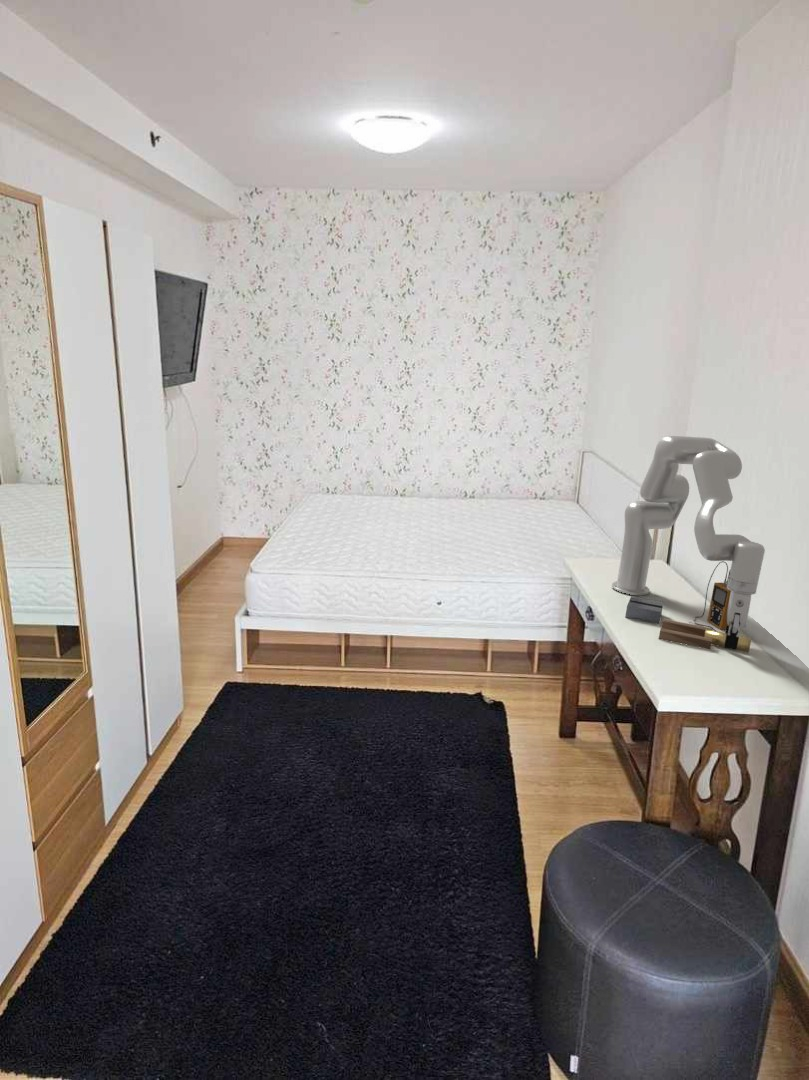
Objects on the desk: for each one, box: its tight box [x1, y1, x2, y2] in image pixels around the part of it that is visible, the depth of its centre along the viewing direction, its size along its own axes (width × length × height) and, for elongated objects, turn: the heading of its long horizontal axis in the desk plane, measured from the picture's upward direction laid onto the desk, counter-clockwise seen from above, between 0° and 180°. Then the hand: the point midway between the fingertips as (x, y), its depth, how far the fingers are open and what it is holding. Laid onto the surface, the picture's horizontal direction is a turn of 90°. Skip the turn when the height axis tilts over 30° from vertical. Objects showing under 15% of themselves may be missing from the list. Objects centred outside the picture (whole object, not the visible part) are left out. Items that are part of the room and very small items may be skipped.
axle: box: [704, 629, 752, 653], centre depth 207 cm, size 12×4×4 cm, turn 66°
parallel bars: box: [658, 618, 714, 651], centre depth 212 cm, size 12×14×2 cm
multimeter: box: [688, 561, 731, 632], centre depth 220 cm, size 15×10×20 cm
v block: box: [625, 595, 664, 625], centre depth 227 cm, size 10×10×4 cm
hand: (730, 643), depth 207 cm, fingers open, 7 cm apart
